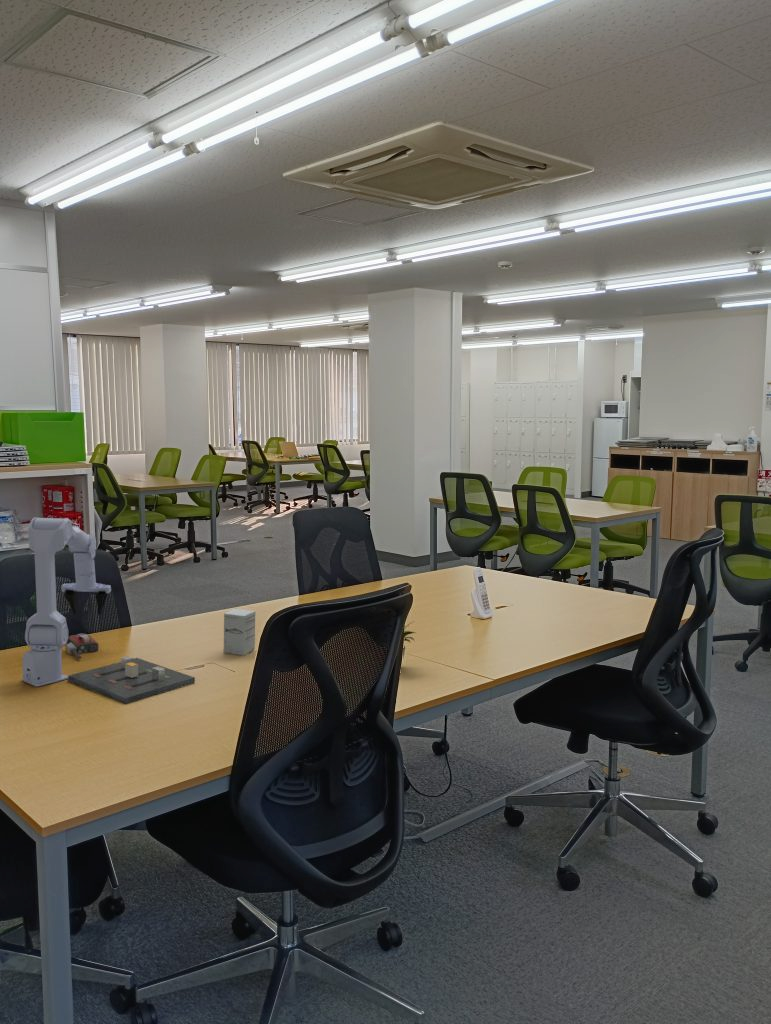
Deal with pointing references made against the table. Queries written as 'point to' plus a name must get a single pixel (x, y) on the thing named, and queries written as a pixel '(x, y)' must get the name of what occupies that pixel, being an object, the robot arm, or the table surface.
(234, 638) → the supplement box
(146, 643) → the table surface
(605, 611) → the table surface
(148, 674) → the breaker board
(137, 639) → the table surface
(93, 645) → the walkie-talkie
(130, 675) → the block
